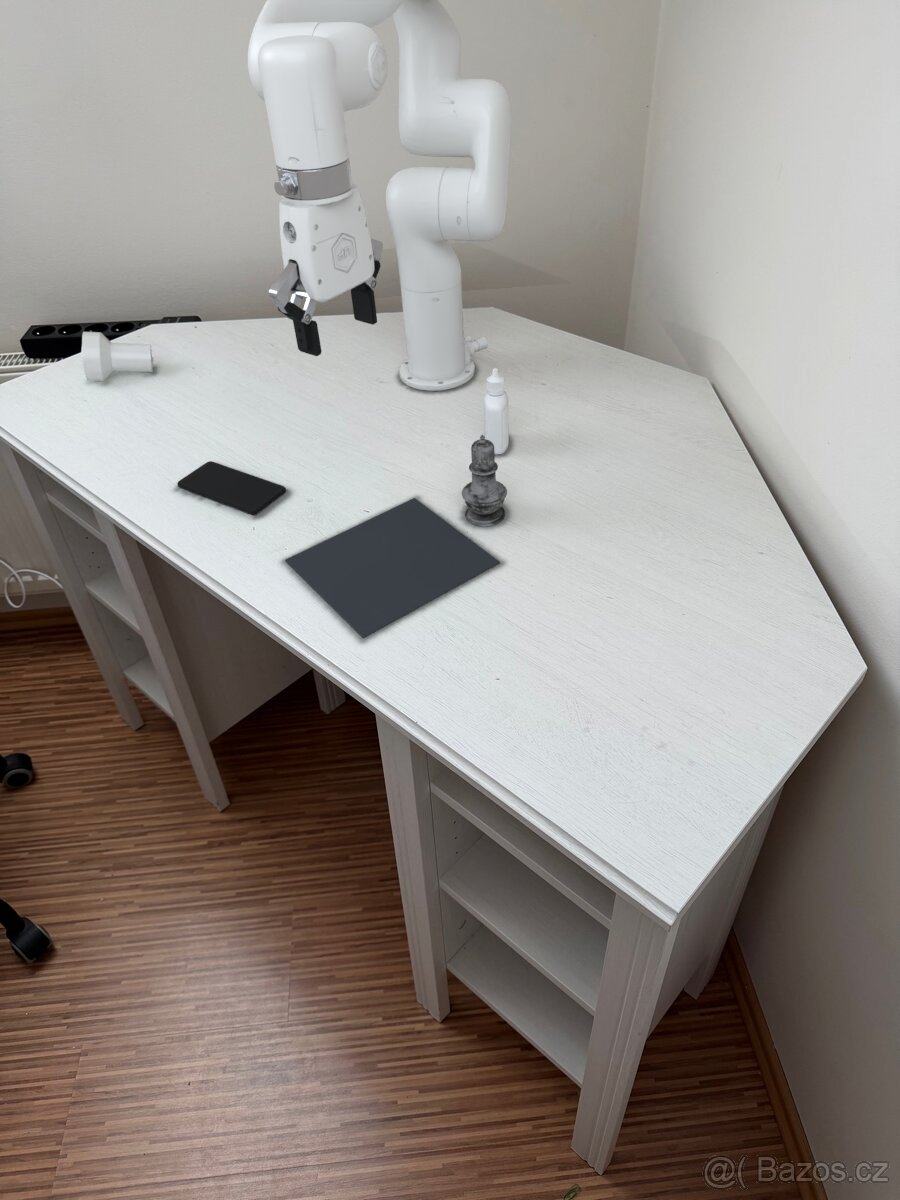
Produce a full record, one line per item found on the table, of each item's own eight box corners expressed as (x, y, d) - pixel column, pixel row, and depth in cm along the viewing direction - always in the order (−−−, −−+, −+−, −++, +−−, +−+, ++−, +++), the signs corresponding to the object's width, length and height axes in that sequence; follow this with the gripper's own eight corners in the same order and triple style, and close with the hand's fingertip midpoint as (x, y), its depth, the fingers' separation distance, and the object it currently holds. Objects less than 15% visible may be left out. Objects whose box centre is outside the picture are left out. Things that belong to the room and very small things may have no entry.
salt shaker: (503, 529, 107) (502, 449, 99) (458, 526, 108) (454, 446, 100) (510, 503, 111) (509, 423, 103) (467, 500, 112) (463, 421, 104)
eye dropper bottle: (519, 440, 122) (519, 364, 114) (498, 458, 119) (497, 381, 111) (494, 432, 124) (493, 357, 116) (473, 450, 121) (470, 374, 113)
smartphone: (209, 459, 122) (287, 486, 115) (210, 464, 122) (288, 491, 116) (174, 483, 117) (253, 512, 111) (176, 488, 118) (255, 517, 111)
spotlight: (86, 361, 147) (80, 321, 141) (154, 363, 150) (151, 324, 144) (84, 390, 142) (77, 349, 136) (154, 391, 145) (150, 352, 139)
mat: (414, 499, 113) (414, 497, 113) (499, 563, 102) (499, 561, 102) (285, 561, 104) (284, 559, 104) (362, 638, 93) (362, 636, 93)
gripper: (281, 208, 80) (310, 374, 91) (395, 162, 90) (409, 316, 101) (228, 198, 83) (263, 358, 95) (344, 155, 93) (363, 304, 105)
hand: (338, 336), depth 98 cm, fingers open, 9 cm apart
